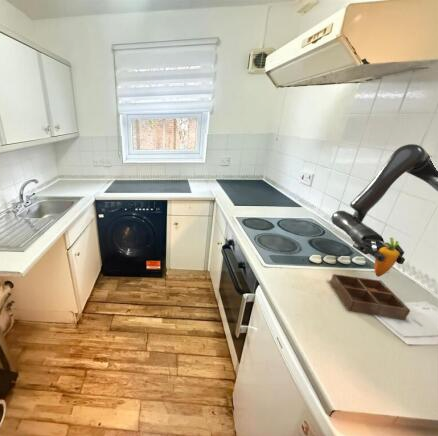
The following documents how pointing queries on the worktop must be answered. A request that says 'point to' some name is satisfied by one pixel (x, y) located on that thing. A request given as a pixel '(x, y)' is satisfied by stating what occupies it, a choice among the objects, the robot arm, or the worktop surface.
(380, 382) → the worktop surface
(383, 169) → the robot arm
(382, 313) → the grid
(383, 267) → the carrot
